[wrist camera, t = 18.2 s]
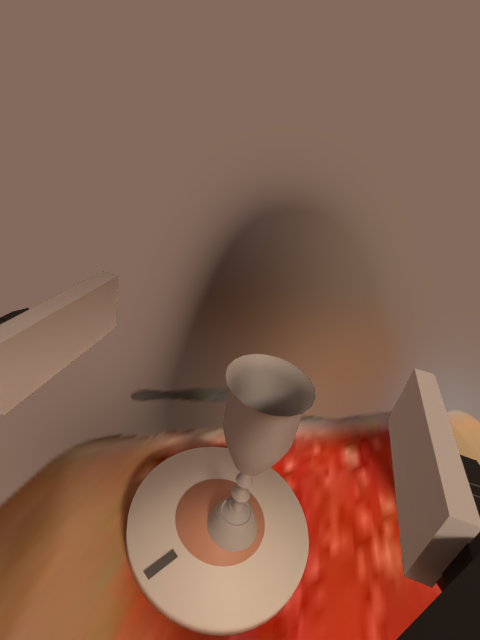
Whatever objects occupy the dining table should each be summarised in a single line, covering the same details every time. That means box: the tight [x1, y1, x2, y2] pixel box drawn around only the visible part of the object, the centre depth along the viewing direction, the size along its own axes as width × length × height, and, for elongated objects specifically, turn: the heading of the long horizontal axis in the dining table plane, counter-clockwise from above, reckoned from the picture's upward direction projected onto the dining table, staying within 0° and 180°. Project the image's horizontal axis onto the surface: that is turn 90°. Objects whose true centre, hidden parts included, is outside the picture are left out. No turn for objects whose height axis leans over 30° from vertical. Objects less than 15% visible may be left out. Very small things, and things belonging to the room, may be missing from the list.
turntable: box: [126, 447, 309, 636], centre depth 38 cm, size 18×18×2 cm
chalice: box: [207, 354, 315, 552], centre depth 32 cm, size 7×7×18 cm
